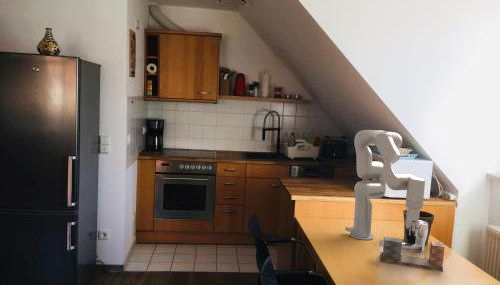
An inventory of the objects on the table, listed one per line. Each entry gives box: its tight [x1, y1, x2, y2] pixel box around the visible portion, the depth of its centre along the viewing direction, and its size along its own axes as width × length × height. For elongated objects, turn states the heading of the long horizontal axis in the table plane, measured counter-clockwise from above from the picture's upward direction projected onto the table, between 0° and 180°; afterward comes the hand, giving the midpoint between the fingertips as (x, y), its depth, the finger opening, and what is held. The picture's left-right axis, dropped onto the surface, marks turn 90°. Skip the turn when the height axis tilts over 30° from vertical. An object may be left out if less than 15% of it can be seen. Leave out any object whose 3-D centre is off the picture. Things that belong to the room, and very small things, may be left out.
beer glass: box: [414, 220, 428, 253], centre depth 209 cm, size 7×7×15 cm
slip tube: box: [378, 239, 423, 253], centre depth 193 cm, size 19×3×9 cm, turn 73°
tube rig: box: [379, 236, 445, 272], centre depth 192 cm, size 27×10×11 cm, turn 72°
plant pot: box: [402, 209, 436, 246], centre depth 222 cm, size 16×16×16 cm
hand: (410, 241), depth 192 cm, fingers open, 5 cm apart
